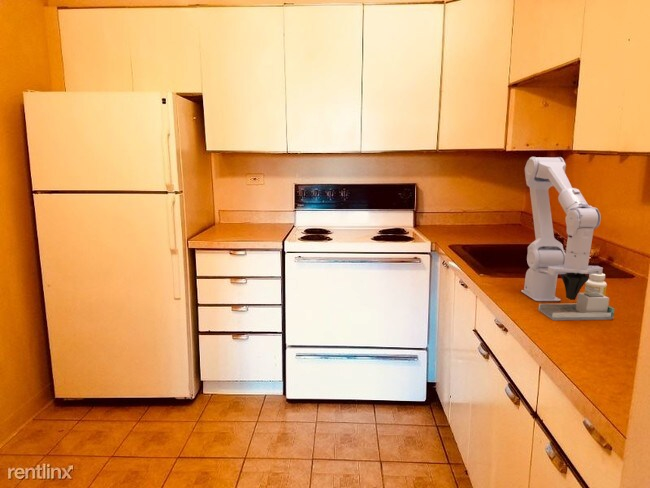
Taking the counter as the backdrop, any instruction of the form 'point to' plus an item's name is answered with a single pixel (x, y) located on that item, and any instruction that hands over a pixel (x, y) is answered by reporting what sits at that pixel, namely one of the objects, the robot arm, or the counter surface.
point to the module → (592, 302)
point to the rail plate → (573, 312)
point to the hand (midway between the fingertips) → (570, 298)
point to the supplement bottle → (596, 284)
